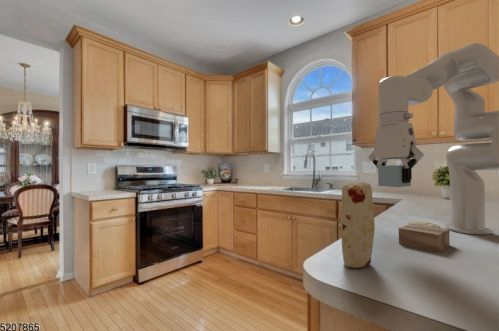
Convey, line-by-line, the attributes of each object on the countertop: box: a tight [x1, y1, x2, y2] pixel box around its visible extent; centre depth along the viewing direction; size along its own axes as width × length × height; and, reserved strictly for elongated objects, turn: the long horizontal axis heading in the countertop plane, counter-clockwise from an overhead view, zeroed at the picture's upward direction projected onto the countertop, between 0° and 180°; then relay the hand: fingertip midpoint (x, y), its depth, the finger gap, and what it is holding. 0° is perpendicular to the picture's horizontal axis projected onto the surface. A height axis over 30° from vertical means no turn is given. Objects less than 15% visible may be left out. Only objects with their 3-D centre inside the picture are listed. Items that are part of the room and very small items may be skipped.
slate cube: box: [377, 164, 412, 188], centre depth 72 cm, size 6×6×6 cm
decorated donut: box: [405, 221, 442, 228], centre depth 86 cm, size 10×11×4 cm
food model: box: [340, 181, 376, 269], centre depth 59 cm, size 10×7×20 cm
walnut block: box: [398, 224, 451, 253], centre depth 75 cm, size 10×10×5 cm
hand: (394, 181), depth 72 cm, fingers closed on slate cube, 6 cm apart
